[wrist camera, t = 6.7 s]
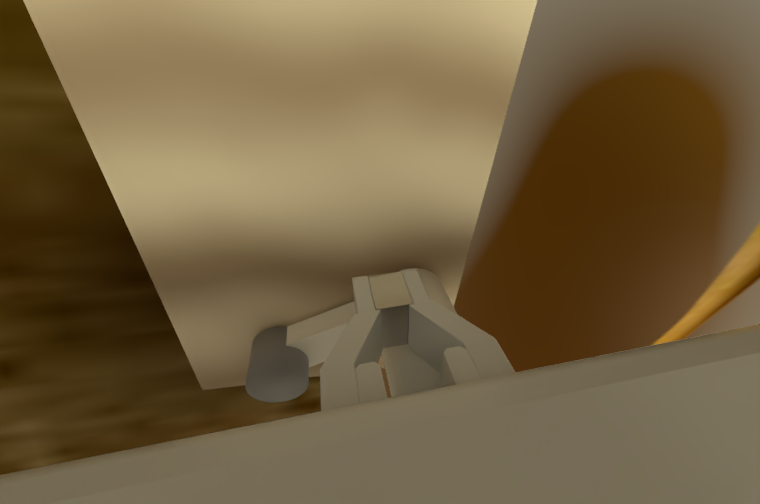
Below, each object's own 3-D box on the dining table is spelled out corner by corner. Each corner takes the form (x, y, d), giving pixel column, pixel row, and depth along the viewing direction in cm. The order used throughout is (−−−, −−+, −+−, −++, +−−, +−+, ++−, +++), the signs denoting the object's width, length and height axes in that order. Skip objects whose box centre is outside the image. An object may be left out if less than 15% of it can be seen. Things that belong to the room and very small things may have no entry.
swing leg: (275, 371, 15) (259, 547, 10) (235, 333, 13) (191, 525, 8) (448, 307, 15) (521, 457, 10) (433, 257, 13) (514, 412, 8)
